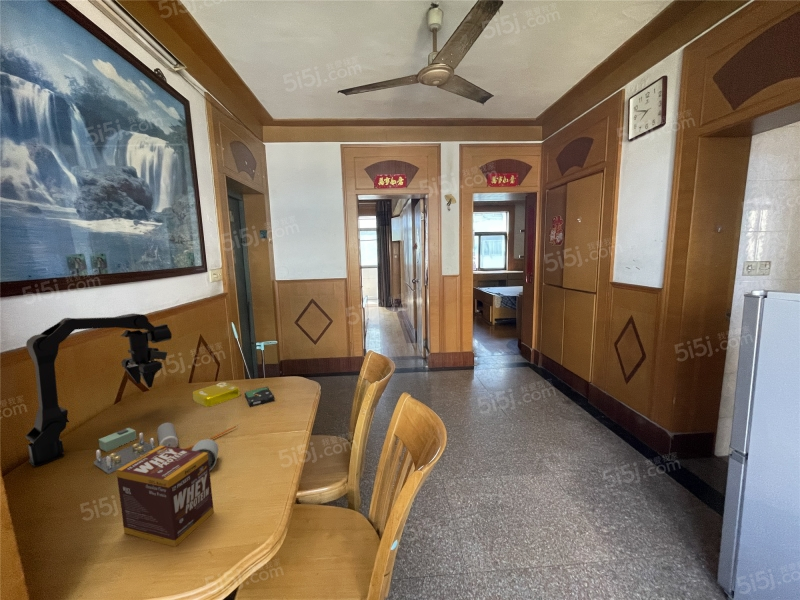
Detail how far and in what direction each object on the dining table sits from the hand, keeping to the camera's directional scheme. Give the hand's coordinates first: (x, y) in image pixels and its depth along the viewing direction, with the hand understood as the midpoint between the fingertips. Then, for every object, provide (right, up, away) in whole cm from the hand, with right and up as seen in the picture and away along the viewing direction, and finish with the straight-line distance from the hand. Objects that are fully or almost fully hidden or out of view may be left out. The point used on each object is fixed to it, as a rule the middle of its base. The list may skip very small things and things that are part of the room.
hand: (144, 385), depth 127 cm
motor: (+27, -15, -9) cm, 32 cm away
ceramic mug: (+40, -17, -30) cm, 53 cm away
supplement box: (+46, -19, -50) cm, 71 cm away
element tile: (+16, -12, +23) cm, 30 cm away
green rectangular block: (+3, -17, -15) cm, 22 cm away
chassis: (+13, -17, -23) cm, 31 cm away
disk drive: (+36, -12, +20) cm, 43 cm away
